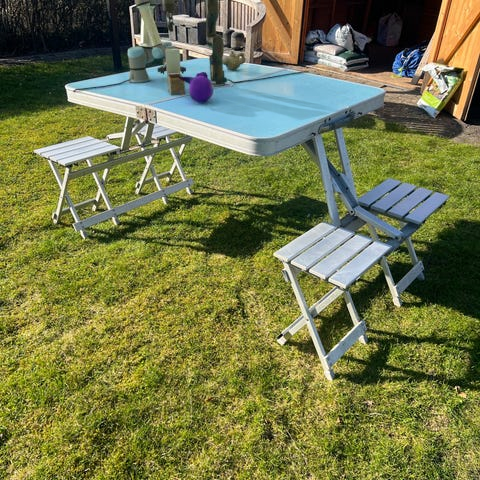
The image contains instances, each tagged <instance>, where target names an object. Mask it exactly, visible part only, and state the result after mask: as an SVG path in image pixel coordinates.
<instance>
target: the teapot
mask: <svg viewBox="0 0 480 480" xmlns="http://www.w3.org/2000/svg"><path fill="white" fill-rule="evenodd" d="M240 58H241V59H240ZM245 62H246V56H245V54H244V52H242V51H241V52H239V53H238V54H236V53H235V51H234V50H231V51H230V53H229V56H225V57H223V66H225V67H226V69H227V70H228V71H236V70H238V69H239V68H240V67H241V65H243V64H244V63H245Z"/></svg>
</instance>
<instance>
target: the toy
mask: <svg viewBox="0 0 480 480" xmlns="http://www.w3.org/2000/svg"><path fill="white" fill-rule="evenodd" d="M178 78H179V79H181V80H183V81H184V83H187V84H189V85H188V92H189V96H190V98H191V99H192V100H193V101H194V102H196V103H200V104H201V103H202V104H204V103H206V102H208V101H209V100H210V99H211V98H212V97H213V95H214V86H213V85H212V83H211V80H210V78H209V76H208V73H207V72H206V71H201V72H198V73H196V75H195V76H194V77H192V76H183V77H178Z"/></svg>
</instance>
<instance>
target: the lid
mask: <svg viewBox="0 0 480 480" xmlns="http://www.w3.org/2000/svg"><path fill="white" fill-rule="evenodd" d="M166 47H167V50H165V51H166V68H167V71H166V75H167V74H179V73H180V74H181V71H180V66H181V54H180V53H181V52H180V51H181V50H180V48H176V47H177V46H176V45H172V46H166Z"/></svg>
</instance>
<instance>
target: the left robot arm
mask: <svg viewBox="0 0 480 480" xmlns="http://www.w3.org/2000/svg"><path fill="white" fill-rule="evenodd" d="M157 1H158V0H134V4H135V7H136V9H138V11H139V13H140V36H139V37H140V41H139V42H137V46H132V47H129V48H128V49H127V57H128V66H129V76H128V79H127V80H123V81H121V82H118V83H111V84H106V85H99V86H89V87H83V88H82V87H81V88H75V89H73V92H72V93H76V91H84V90H91V89H100V88H107V87H113V86H118V85H122V84H125V83H127V82H129V83H133V84H141V83H148V82H150V76H149V74H148V71H147V67H146V65H147V64H150V63H152V62H154V60H155V59H162V65H161V66H160V67H157V73H160V74H162V75H165V72H167V68H166V51H165V50H167V47H166V46H173V43H172V42H171V41H166V40H165V41H162V39H161V36H160V33H159V30H158V28H157V24H156V22H155V19H154V9H155V8H156V6H157ZM186 71H187V67H184V66H182V65H180V73H181V75H182V74H183V75H184V73H185V72H186Z"/></svg>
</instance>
